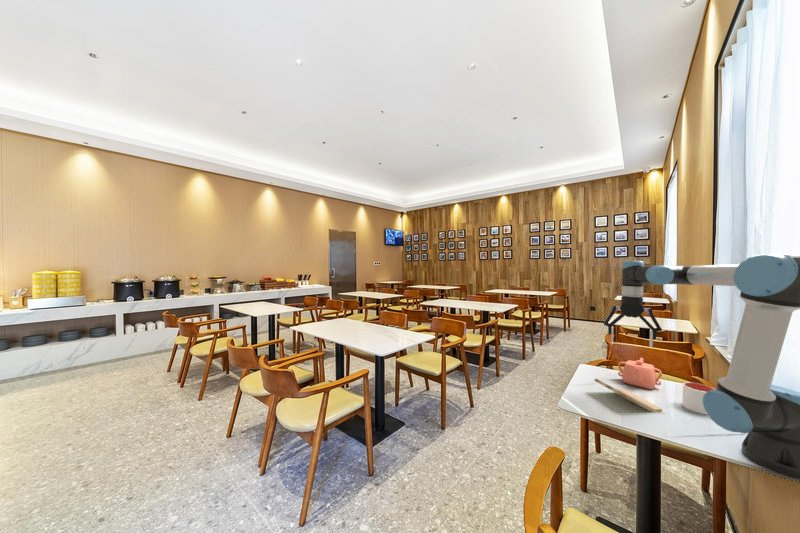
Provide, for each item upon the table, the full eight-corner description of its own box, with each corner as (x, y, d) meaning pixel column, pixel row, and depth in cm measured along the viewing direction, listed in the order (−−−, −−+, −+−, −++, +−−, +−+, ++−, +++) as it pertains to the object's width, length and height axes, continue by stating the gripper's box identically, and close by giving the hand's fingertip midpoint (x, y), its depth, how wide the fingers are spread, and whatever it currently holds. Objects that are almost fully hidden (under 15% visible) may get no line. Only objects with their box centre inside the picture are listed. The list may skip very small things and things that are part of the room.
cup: (723, 418, 120) (724, 393, 119) (693, 415, 122) (694, 391, 121) (703, 406, 129) (704, 383, 129) (676, 404, 131) (677, 381, 131)
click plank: (651, 411, 122) (652, 408, 122) (627, 399, 121) (628, 396, 121) (616, 391, 140) (617, 389, 140) (594, 380, 139) (595, 378, 139)
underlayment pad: (665, 415, 121) (665, 410, 121) (620, 417, 120) (620, 411, 119) (624, 393, 141) (624, 388, 141) (585, 394, 139) (585, 389, 139)
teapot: (635, 393, 142) (636, 366, 141) (611, 378, 158) (612, 354, 158) (668, 394, 141) (669, 367, 141) (641, 379, 158) (642, 355, 157)
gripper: (668, 297, 130) (666, 346, 130) (598, 293, 144) (597, 338, 144) (671, 298, 123) (670, 350, 124) (598, 294, 137) (597, 341, 137)
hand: (631, 344), depth 134 cm, fingers open, 13 cm apart
